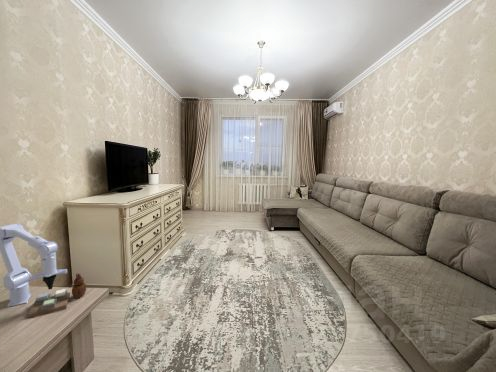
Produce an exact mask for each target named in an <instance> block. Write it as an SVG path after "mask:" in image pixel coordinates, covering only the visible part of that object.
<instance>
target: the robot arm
mask: <svg viewBox="0 0 496 372" xmlns="http://www.w3.org/2000/svg"><path fill="white" fill-rule="evenodd" d="M15 238H18V239H20V240H24V241H26V242H27V243H28V244H27V245H28V246H30V247H31V248H32V249H34V250H37V252H38V254H39V256H40V259H41V267H42V272H40V273H39V272H38V273H35V274H32V273H30V271H29V269H28V268H25V267H22V265H21V263H20V260H19V256H18V255H17V251H16V250H15V247H14V244H13V241H14V239H15ZM58 250H59V244H58V243H57V242H56V241H49V240H47V239H45V238H43V237H41V236H40V235H36V236H34V235H33V234H31V233H30V232H28V231H27V230H25V228H24V226H23V224H21V223H18V222H15V223H12V224H8V225H7V224H6V225H3V226H2V225H1V226H0V255H1V257H2V260H3V262H4V266H5V268H6V271H7V273H6V274H5V275H4V276H3V277H2V280H3V287H4V288H5V289H6V290H7V291H8V292H9V303H8V304H7V306H6V307H7V308H8V307H9V308H10V307H13V306H17V305H22V304H27V303H28V301H29V300H30V299H31V297H32V295H33V294H32V293H30V285H29V284H30V281H31V280H36V279H41V278H42V282H44V283H45V284H46V286H47V288H48V290H52V289H53V287H54V283H55V281H56V277H57V276H58V275H66V274H67V273H68V269H67V268H65V269H57V251H58Z"/></svg>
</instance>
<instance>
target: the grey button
mask: <svg viewBox="0 0 496 372" xmlns="http://www.w3.org/2000/svg"><path fill="white" fill-rule="evenodd" d="M49 294H50V293H49V292H45V293H39V294H38V295H37V297H36V299H37V301H39V300H44V299H48V297H49Z"/></svg>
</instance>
